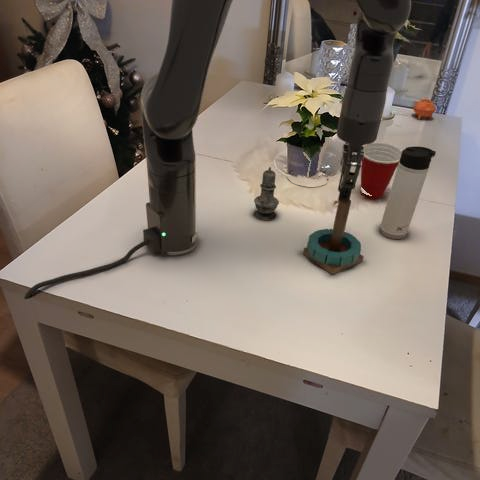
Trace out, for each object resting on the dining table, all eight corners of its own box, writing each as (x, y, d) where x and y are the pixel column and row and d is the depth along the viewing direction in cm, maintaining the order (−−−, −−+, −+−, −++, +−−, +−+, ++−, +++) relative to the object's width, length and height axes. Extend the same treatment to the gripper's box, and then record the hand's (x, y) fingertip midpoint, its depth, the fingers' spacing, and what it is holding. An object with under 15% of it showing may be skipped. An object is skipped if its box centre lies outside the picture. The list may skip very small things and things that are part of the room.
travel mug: (403, 243, 108) (431, 157, 95) (375, 233, 111) (399, 149, 98) (411, 231, 112) (439, 148, 99) (384, 222, 115) (408, 140, 102)
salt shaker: (275, 222, 112) (281, 174, 104) (250, 218, 113) (254, 170, 105) (278, 210, 116) (284, 163, 108) (255, 207, 117) (259, 159, 109)
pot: (431, 122, 171) (432, 102, 167) (409, 122, 175) (410, 103, 171) (437, 116, 176) (439, 96, 172) (416, 116, 180) (417, 97, 176)
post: (332, 275, 97) (345, 216, 89) (302, 254, 103) (312, 196, 94) (362, 262, 102) (377, 204, 93) (332, 242, 107) (344, 186, 98)
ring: (331, 271, 96) (333, 263, 94) (295, 245, 102) (297, 237, 101) (370, 256, 101) (372, 248, 100) (334, 231, 108) (335, 223, 106)
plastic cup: (346, 199, 123) (356, 153, 115) (354, 182, 131) (364, 138, 123) (389, 208, 121) (402, 162, 113) (394, 190, 128) (407, 146, 120)
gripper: (340, 97, 93) (325, 179, 104) (340, 123, 82) (323, 212, 94) (379, 101, 92) (360, 184, 103) (385, 128, 81) (362, 217, 93)
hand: (343, 197), depth 98 cm, fingers open, 4 cm apart
